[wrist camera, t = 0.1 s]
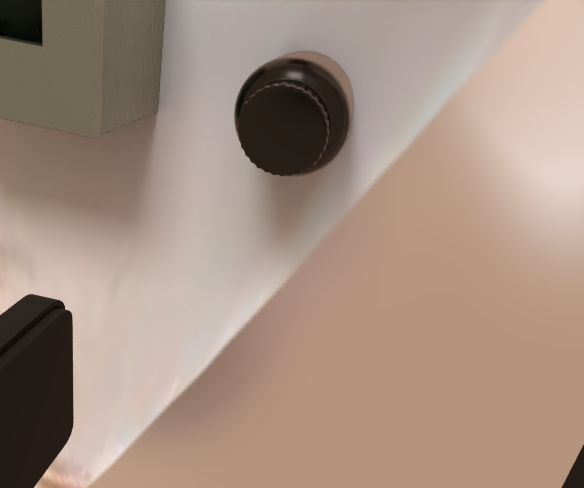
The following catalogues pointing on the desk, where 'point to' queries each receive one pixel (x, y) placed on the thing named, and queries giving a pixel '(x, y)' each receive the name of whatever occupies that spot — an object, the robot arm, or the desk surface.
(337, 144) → the supplement bottle
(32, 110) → the box
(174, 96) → the desk surface
